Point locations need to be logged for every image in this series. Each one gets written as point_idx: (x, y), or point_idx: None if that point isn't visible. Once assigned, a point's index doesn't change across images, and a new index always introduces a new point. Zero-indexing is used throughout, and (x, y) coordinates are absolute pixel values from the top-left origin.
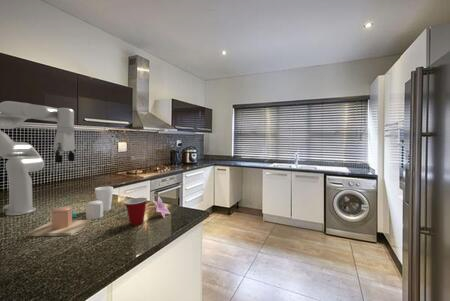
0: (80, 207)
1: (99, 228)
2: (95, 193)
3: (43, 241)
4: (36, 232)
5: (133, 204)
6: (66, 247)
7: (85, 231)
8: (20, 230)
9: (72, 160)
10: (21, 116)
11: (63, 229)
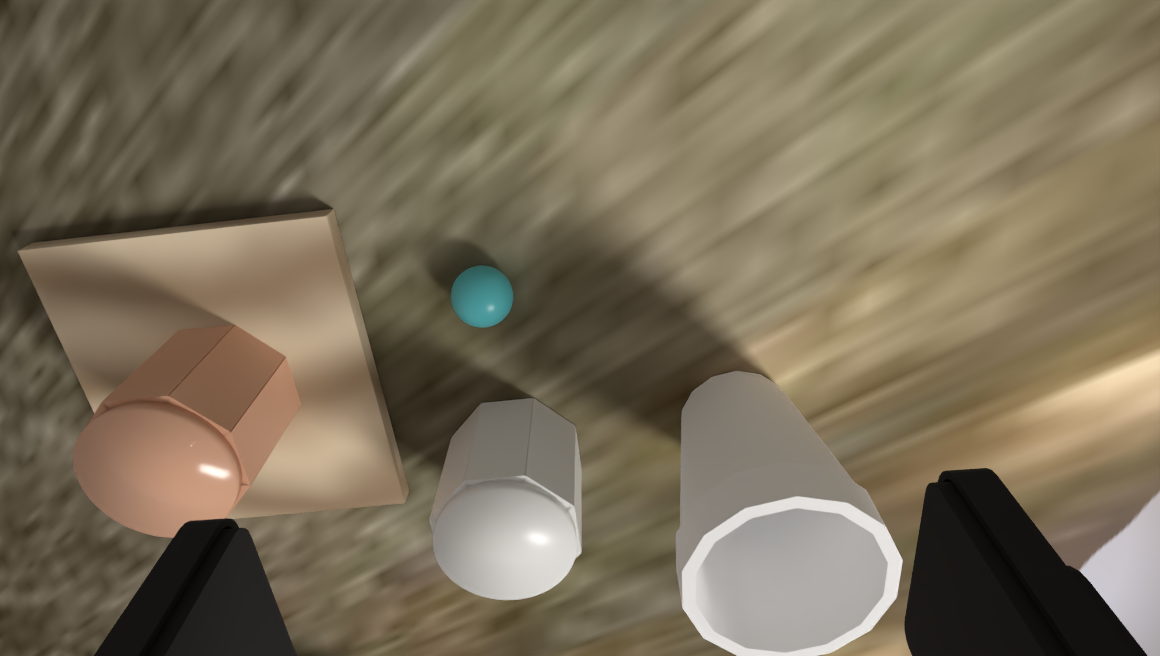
0: (835, 118)
1: (308, 598)
2: (732, 472)
3: (24, 420)
4: (60, 306)
5: None
6: (25, 585)
7: None
8: (93, 68)
9: (914, 625)
10: None
11: None
